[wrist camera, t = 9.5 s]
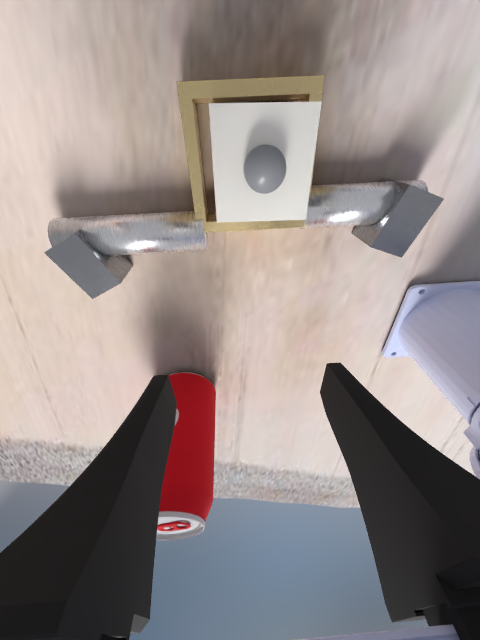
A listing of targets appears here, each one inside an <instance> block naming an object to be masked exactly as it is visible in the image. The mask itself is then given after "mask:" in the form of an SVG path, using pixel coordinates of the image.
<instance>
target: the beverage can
mask: <svg viewBox="0 0 480 640" xmlns="http://www.w3.org/2000/svg"><path fill="white" fill-rule="evenodd" d="M169 379H170V382H171V385H172V388H173V391H174V395H175V398H176V401H177V408H176V419H175V427H174V432H173V436H172V441H171V446H170V451H169V455H168V460H167V465H166V470H165V474H164V479H163V485H162V492H161V500H160V508H159V517H158V526H157V535H156V540H178V539H184V538H189V537H192V536H195V535H198V534H199V533H201V532H202V531H203V530H204V528H205V521H206V518H207V516H208V513H209V511H210V508H211V506H212V502H213V481H214V441H215V400H216V391H215V387H214V385H213V384H212V383H211V382H210V381H209V380H208V379H207V378H205V377H203V376H201V375H199V374H196V373H190V372H179V373H174V374H170V375H169Z"/></svg>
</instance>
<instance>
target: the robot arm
mask: <svg viewBox="0 0 480 640" xmlns="http://www.w3.org/2000/svg"><path fill="white" fill-rule="evenodd" d="M420 290H421V291H420ZM419 291H420V292H419ZM382 355H383V356H384V357H387V358H388V357H402V356H411V358H412V359H413V360H414V361H415V362H416V363H417V365H418V366H419V367H420V368H421V369H422V370H423V372H424V373H425V374H426V375H427V376H428V377H429V378H430V380H431V381H432V382H433V383H434V384H435V385H436V387H437V388H438V389H439V390H440V391H441V392H442V393H443V395H444V396H445V397H446V398H447V399H448V400H449V402H450V403H451V404H452V405H453V406H454V407H455V409H456V410H457V411H458V412H459V413H460V414H461V415H462V417H463V418H464V419H465V420H466V421H467V422H468V424H469V425H470V426H469V427H468V428H467V429H466V430H465V431H464V434H465V435H466V437H467V438H468V439H469V440H470V442H471V443H472V444H473V445H474V447H473V448H472V449H471V452H470V462H471V466H472V469H473V471H474V474H475V476H476V477H475V476H474V475H472V474H471V473H469V472H468V471H466V470H465V469H463V468H462V467H461V466H459V465H458V464H456V463H455V462H453V461H452V460H451V459H449V458H448V457H446V456H445V455H443V454H442V453H441V452H439V451H438V450H436V449H435V448H434V447H432V446H431V445H430V444H428V443H427V442H426V441H425V440H423V439H422V438H421V437H419V436H418V435H417V434H416V433H414V432H413V431H412V430H411V429H409V428H408V427H407V426H406V425H405V424H404V423H402V422H401V421H400V420H399V419H398V418H397V417H395V416H394V415H393V414H392V413H391V412H390V411H389V410H388V409H387V408H385V407H384V406H383V405H382V404H381V403H380V402H379V401H378V400H377V399H376V398H375V397H374V396H373V395H372V394H371V393H370V392H369V391H368V390H367V389H366V388H365V387H364V386H363V385H362V384H361V383H360V382H359V381H358V380H357V379H356V378H355V377H354V376H353V375H352V374H351V373H350V372H349V371H348V370H347V369H346V368H345V367H344V366H343V365H342V364H341V363H328V364H327V365H326V369H325V374H324V378H323V382H322V386H321V390H320V394H321V398H322V401H323V405H324V408H325V412H326V415H327V417H328V420H329V422H330V425H331V427H332V430H333V432H334V435H335V437H336V439H337V442H338V444H339V447H340V449H341V452H342V454H343V456H344V459H345V461H346V464H347V467H348V469H349V472H350V475H351V478H352V481H353V484H354V488H355V491H356V494H357V497H358V501H359V504H360V507H361V511H362V514H363V518H364V521H365V524H366V528H367V532H368V536H369V540H370V543H371V547H372V551H373V554H374V558H375V562H376V567H377V570H378V575H379V579H380V583H381V587H382V591H383V596H384V600H385V604H386V606H387V610H388V612H389V615H390V618H391V620H392V622H400V621H401V622H402V621H412V620H423V619H426V620H427V623H428V625H429V627H419V628H409V629H399V630H389V631H378V632H367V633H358V634H347V635H336V636H326V637H315V638H305V639H294V640H480V281H468V282H452V283H437V284H421V285H413V286H411V287H410V288H409V289H408V291H407V293H406V295H405V298H404V300H403V303H402V305H401V307H400V310H399V312H398V315H397V317H396V320H395V322H394V324H393V327H392V329H391V332H390V334H389V337H388V339H387V341H386V344H385V346H384V349H383V351H382ZM176 408H177V401H176V398H175V395H174V391H173V388H172V385H171V382H170V379H169V375H157V376H154V377H153V378H152V380H151V381H150V383H149V385H148V386H147V388H146V389H145V391H144V392H143V394H142V396H141V397H140V399H139V400H138V402H137V403H136V405H135V406H134V408H133V409H132V411H131V412H130V413H129V415H128V416H127V418H126V419H125V421H124V422H123V423H122V425H121V426H120V427H119V429H118V430H117V431H116V433H115V434H114V435H113V437H112V438H111V439H110V441H109V442H108V443H107V445H106V446H105V447H104V448H103V449H102V451H101V452H100V453H99V454H98V456H97V457H96V458H95V459H94V460H93V461H92V463H91V464H90V465H89V466H88V467H87V468H86V469H85V471H84V472H83V473H82V474H81V475H80V476H79V477H78V478H77V479H76V480H75V481H74V483H73V484H72V485H71V486H70V487H69V488H68V489H67V490H66V491H65V492H64V493H63V494H62V495H61V496H60V497H59V498H58V500H56V501H55V502H54V503H53V504H52V505H51V506H50V507H49V508H48V509H47V510H46V511H45V512H44V513H43V514H42V515H41V516H40V517H39V518H38V519H37V520H36V521H35V522H34V523H33V524H32V525H31V526H30V527H28V528H27V529H26V530H25V531H24V532H23V533H22V534H21V535H20V536H19V537H18V538H17V539H16V540H14V541H13V542H12V543H11V544H10V545H9V546H7V547H6V548H5V549H4V550H3V551H2V552H1V553H0V640H129V637H130V634H133V633H140V632H141V631H142V630H143V628H144V627H145V626H146V624H147V623H148V621H149V620H150V606H151V593H152V579H153V567H154V556H155V545H156V535H157V526H158V517H159V508H160V500H161V492H162V485H163V479H164V474H165V470H166V465H167V460H168V455H169V451H170V446H171V441H172V436H173V432H174V427H175V419H176Z"/></svg>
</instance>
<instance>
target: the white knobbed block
mask: <svg viewBox="0 0 480 640" xmlns="http://www.w3.org/2000/svg"><path fill="white" fill-rule="evenodd" d="M321 103H322V102H262V103H209V117H210V132H211V146H212V160H213V175H214V189H215V203H216V218H217V223H221V222H251V221H281V220H306V215H307V208H308V200H309V193H310V186H311V178H312V171H313V163H314V156H315V148H316V141H317V133H318V126H319V118H320V111H321Z"/></svg>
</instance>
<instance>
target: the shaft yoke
mask: <svg viewBox="0 0 480 640" xmlns="http://www.w3.org/2000/svg"><path fill="white" fill-rule="evenodd" d="M324 76H325V75H318V76H295V77H272V78H248V79H225V80H202V81H178V82H177V88H178V96H179V103H180V110H181V117H182V124H183V132H184V139H185V146H186V153H187V160H188V168H189V175H190V182H191V189H192V197H193V204H194V211H180V212H162V213H144V214H125V215H107V216H89V217H71V218H54V219H52V220H51V221H50V223H49V225H48V236H49V240H50V243H51V245H52V248H51V249H49V250H48V251H46V252H45V254H46V255H47V256H48V257H49V258H50V259H51V260H52V261H53V262H54V263H56V264H57V265H58V266H59V267H60V268H61V269H62V270H63V271H64V272H65V273H66V274H67V275H68V276H69V277H70V278H71V279H72V280H73V281H74V282H75V283H76V284H77V285H79V286H80V287H81V288H82V289H83V290H84V291H85V292H86V293H87V294H88V295H89V296H90V297H91V298H92V299H93V298H95V297H97V296H99V295H100V294H102V293H104V292H106V291H108V290H109V289H111V288H113V287H115V286H117V285H118V284H120V283H121V282H122V281H123V279H124V278H125V276H126V275H127V274H128V272H129V271H130V269H131V268H132V266H133V264H132V263H131V262H130V261H129V259H128V258H127V257H126V256H125V255H135V254H152V253H169V252H186V251H203V250H208V237H207V232H225V231H242V230H260V229H278V228H295V227H300V228H301V229H304V228H322V227H339V226H355V228H354V230H353V232H352V234H353V235H355V236H356V237H358V238H359V239H360V240H362V241H363V242H364V243H366V244H367V245H369V246H370V247H372V248H375V249H378V250H381V251H384V252H387V253H390V254H393V255H396V256H399V257H402V256H403V255H404V253H405V252H406V251H407V249H408V248H409V247H410V245H411V244H412V242H413V241H414V240H415V238H416V237H417V235H418V234H419V233H420V231H421V230H422V229H423V227H424V226H425V224H426V223H427V222H428V220H429V219H430V217H431V216H432V215H433V213H434V212H435V211H436V209H437V208H438V206H439V205H440V204H441V202H442V201H443V198H441V197H439V196H436V195H434V194H431V193H429V192H428V188H427V185H426V183H425V182H424V181H422V180H406V181H394V180H390V179H386V178H383V179H382V181H381V182H369V183H350V184H331V185H312V178H313V171H312V178H311V186H310V193H309V200H308V208H307V215H306V220H281V221H251V222H221V223H217V218H216V214H208V211H207V202H206V193H205V183H204V174H203V165H202V156H201V147H200V138H199V129H198V120H197V110H196V104H202V103H225V102H247V101H269V100H291V99H299V102H321V101H322V93H323V84H324ZM318 127H319V126H318ZM317 135H318V133H317ZM316 144H317V141H316ZM315 152H316V148H315ZM314 161H315V156H314ZM313 169H314V163H313Z"/></svg>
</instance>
